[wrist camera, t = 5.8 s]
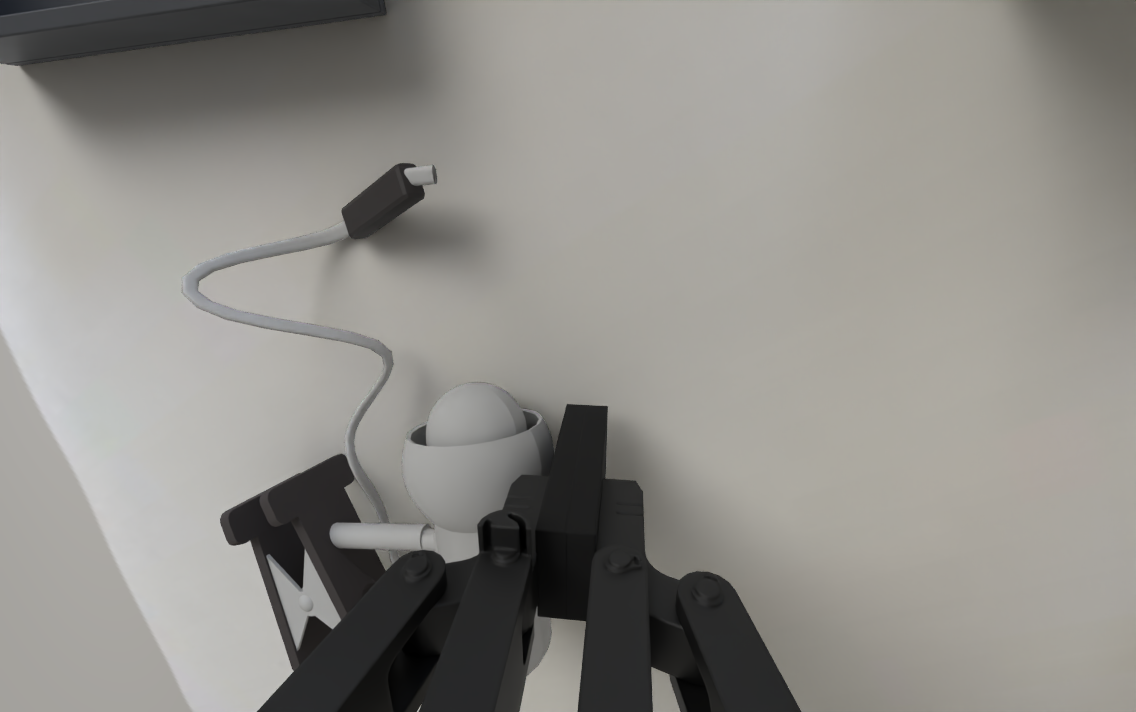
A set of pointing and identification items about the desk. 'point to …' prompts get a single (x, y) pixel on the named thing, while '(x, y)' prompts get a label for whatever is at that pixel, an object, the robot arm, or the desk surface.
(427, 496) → the clip-on lamp
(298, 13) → the baking pan
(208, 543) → the desk surface
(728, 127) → the desk surface
